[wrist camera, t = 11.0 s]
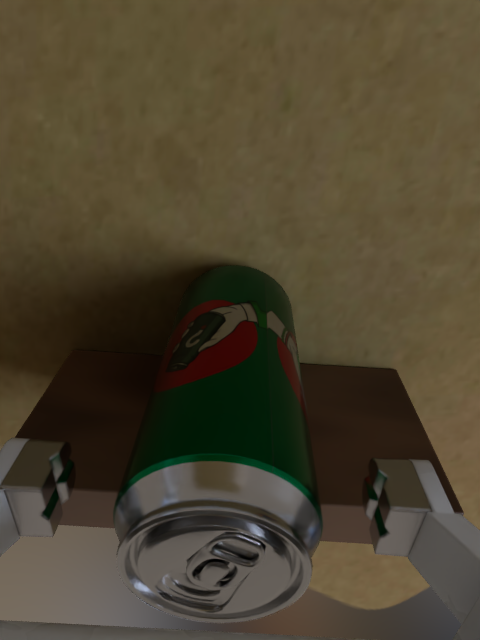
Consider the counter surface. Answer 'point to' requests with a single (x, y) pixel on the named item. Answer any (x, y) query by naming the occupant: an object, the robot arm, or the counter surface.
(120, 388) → the brown rectangular block
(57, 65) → the counter surface
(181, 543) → the soda can
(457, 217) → the counter surface
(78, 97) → the counter surface
